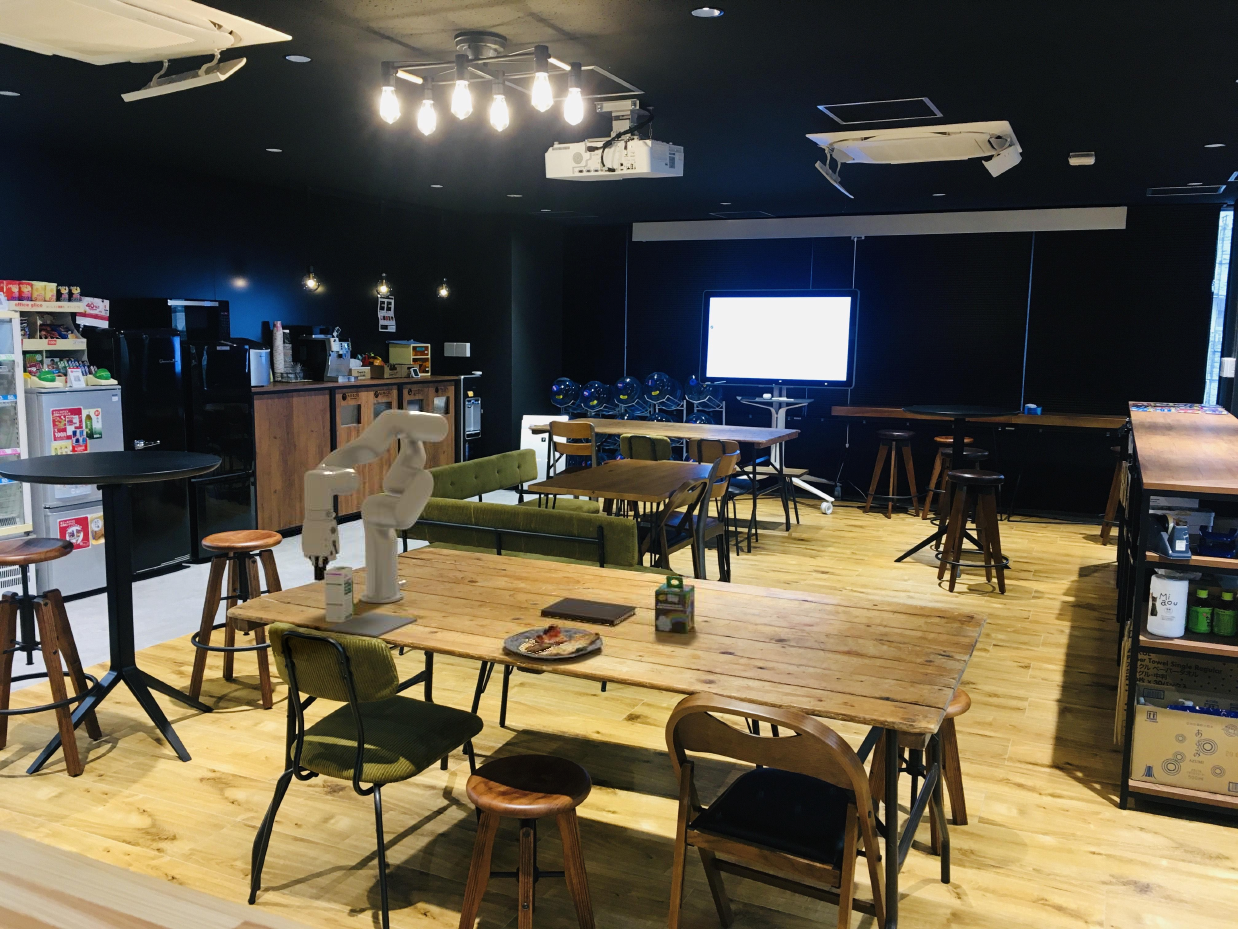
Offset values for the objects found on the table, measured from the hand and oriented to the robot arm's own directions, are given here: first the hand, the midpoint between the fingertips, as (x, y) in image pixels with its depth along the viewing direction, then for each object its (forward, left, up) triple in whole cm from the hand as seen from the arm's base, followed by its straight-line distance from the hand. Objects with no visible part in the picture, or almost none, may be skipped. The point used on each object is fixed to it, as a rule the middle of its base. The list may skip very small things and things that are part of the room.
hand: (320, 579), depth 271 cm
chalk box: (-35, +92, -11) cm, 99 cm away
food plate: (-4, +71, -11) cm, 73 cm away
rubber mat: (0, +18, -11) cm, 21 cm away
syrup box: (0, +6, -11) cm, 13 cm away
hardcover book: (-37, +65, -11) cm, 76 cm away
